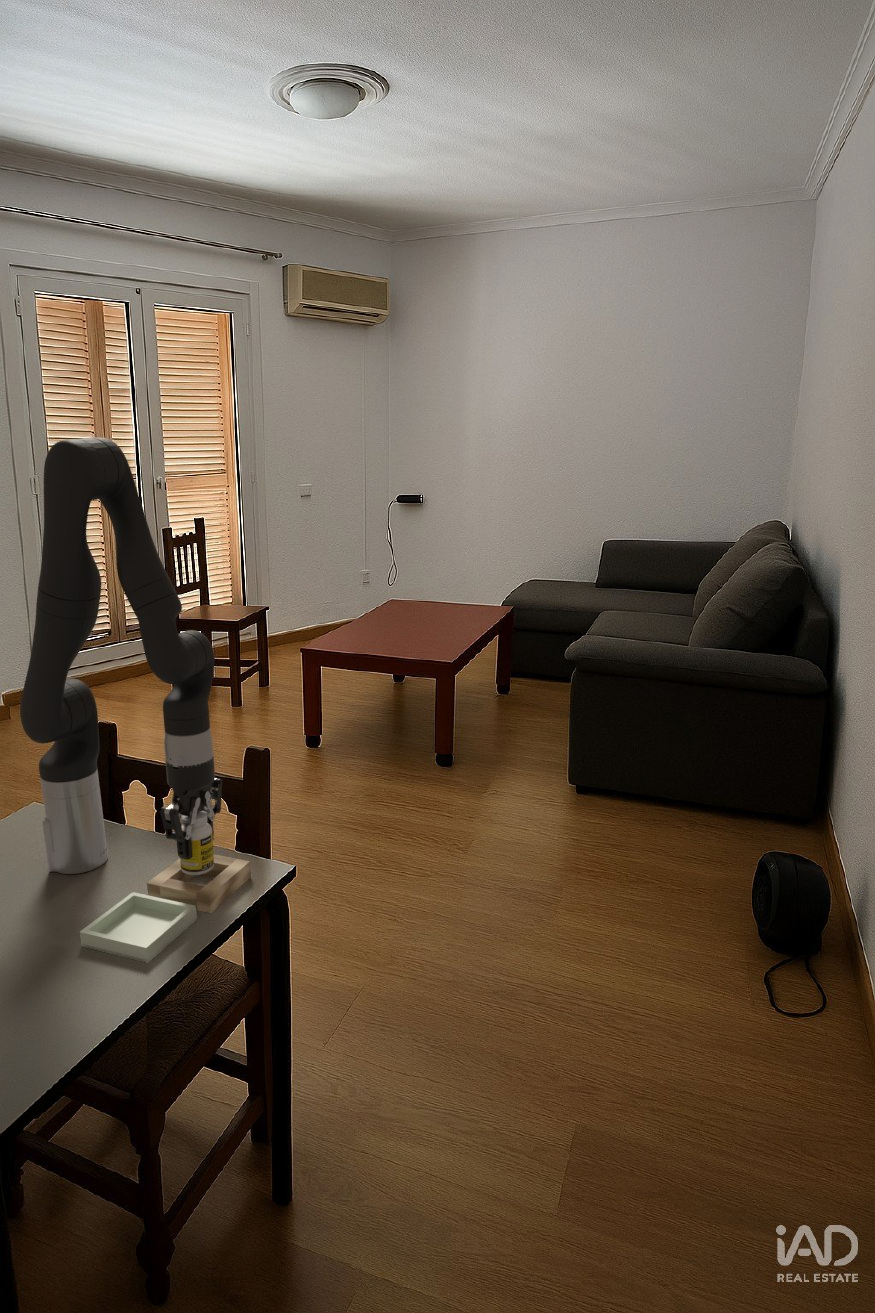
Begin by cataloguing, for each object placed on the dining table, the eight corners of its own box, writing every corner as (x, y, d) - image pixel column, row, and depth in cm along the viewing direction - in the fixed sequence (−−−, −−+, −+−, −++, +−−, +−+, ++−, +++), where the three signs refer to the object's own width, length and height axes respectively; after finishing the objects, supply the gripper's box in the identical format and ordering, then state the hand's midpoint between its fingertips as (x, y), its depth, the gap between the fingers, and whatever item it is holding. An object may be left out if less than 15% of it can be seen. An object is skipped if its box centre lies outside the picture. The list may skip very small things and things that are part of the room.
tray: (147, 963, 127) (146, 948, 127) (81, 946, 131) (79, 932, 131) (196, 919, 138) (195, 905, 138) (134, 905, 142) (132, 892, 142)
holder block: (210, 913, 140) (209, 896, 139) (148, 899, 144) (146, 883, 143) (251, 877, 151) (250, 861, 150) (192, 865, 155) (190, 850, 154)
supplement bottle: (205, 878, 144) (201, 823, 141) (175, 874, 145) (170, 820, 142) (220, 862, 149) (216, 809, 146) (190, 858, 150) (186, 806, 147)
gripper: (196, 736, 149) (202, 827, 154) (141, 768, 136) (150, 866, 141) (234, 742, 146) (239, 834, 151) (182, 775, 133) (189, 874, 138)
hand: (196, 849), depth 146 cm, fingers closed on supplement bottle, 5 cm apart
